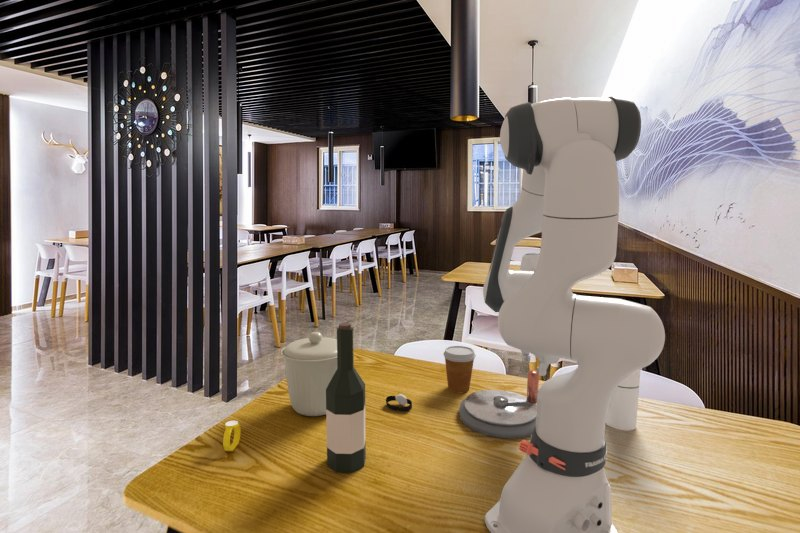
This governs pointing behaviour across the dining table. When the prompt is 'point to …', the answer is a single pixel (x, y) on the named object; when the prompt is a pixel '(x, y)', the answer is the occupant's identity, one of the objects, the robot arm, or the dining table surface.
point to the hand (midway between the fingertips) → (533, 367)
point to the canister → (310, 372)
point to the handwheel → (505, 405)
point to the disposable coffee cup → (459, 367)
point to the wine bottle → (345, 409)
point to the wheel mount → (495, 426)
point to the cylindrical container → (624, 404)
